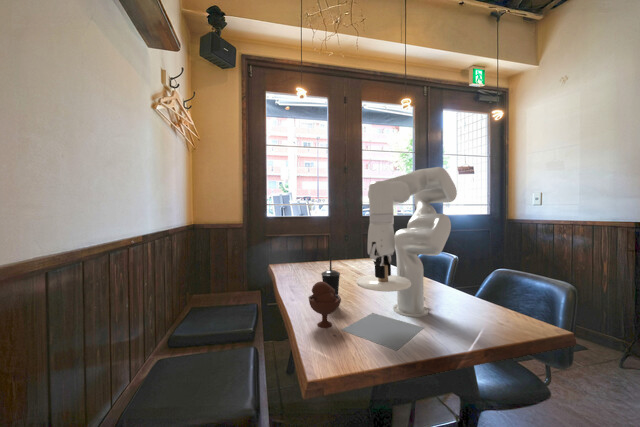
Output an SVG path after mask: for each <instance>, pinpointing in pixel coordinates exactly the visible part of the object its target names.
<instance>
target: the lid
mask: <svg viewBox="0 0 640 427" xmlns="http://www.w3.org/2000/svg"><path fill="white" fill-rule="evenodd" d="M383 266H385V278H384V279H382V278H377V277H375V273H374V274H368V275H362V276H360V277H358V278H357V279H356V285H357V286H358V287H361V288H362V289H365V290H369V291H375V292H391V293H392V292H397V291H401V290H405V289H408V288H410V287H411V281H410V280H409V279H407V278H404V277H401V276H397V274H391V276H388V265H385V264H383Z"/></svg>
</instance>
